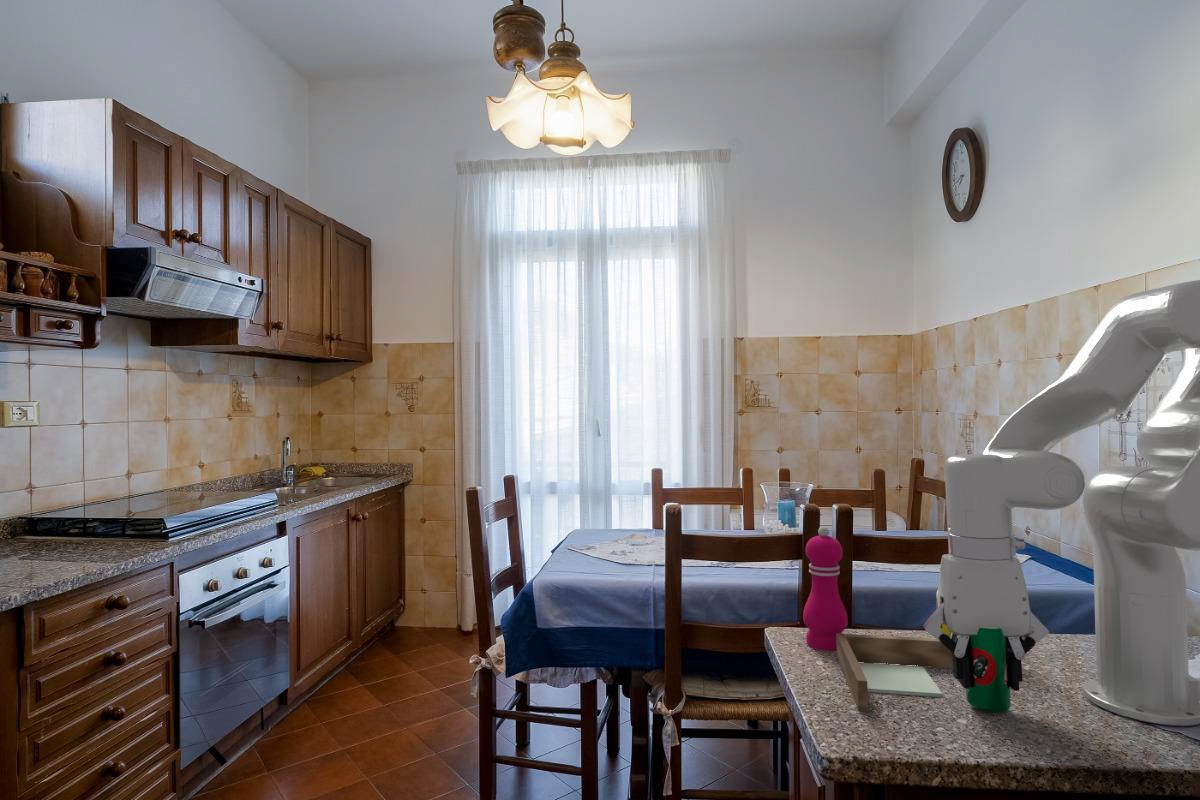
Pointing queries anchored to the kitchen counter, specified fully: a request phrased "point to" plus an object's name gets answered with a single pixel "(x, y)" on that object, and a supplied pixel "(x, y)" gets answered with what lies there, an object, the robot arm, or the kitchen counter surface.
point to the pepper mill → (824, 593)
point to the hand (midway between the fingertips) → (987, 684)
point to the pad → (899, 680)
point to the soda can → (988, 670)
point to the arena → (885, 657)
